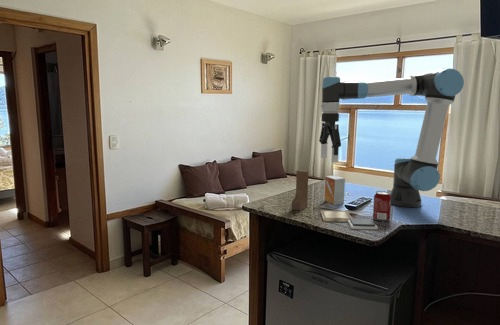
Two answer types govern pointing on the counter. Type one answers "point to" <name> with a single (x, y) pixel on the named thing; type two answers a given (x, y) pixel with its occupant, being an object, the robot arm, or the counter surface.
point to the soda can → (382, 206)
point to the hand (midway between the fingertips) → (329, 160)
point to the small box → (334, 189)
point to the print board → (335, 215)
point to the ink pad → (362, 224)
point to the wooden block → (301, 191)
